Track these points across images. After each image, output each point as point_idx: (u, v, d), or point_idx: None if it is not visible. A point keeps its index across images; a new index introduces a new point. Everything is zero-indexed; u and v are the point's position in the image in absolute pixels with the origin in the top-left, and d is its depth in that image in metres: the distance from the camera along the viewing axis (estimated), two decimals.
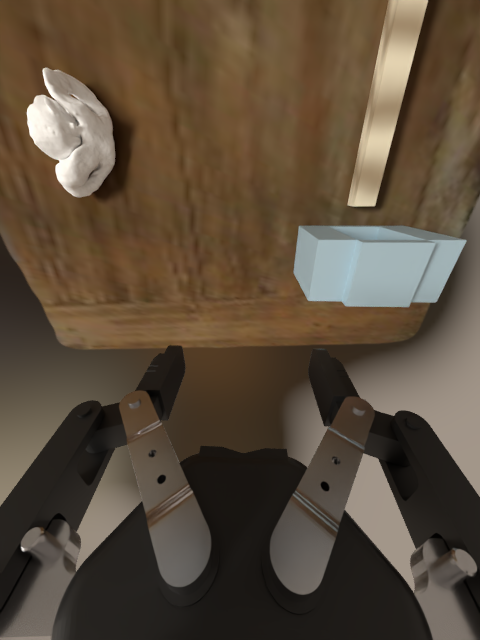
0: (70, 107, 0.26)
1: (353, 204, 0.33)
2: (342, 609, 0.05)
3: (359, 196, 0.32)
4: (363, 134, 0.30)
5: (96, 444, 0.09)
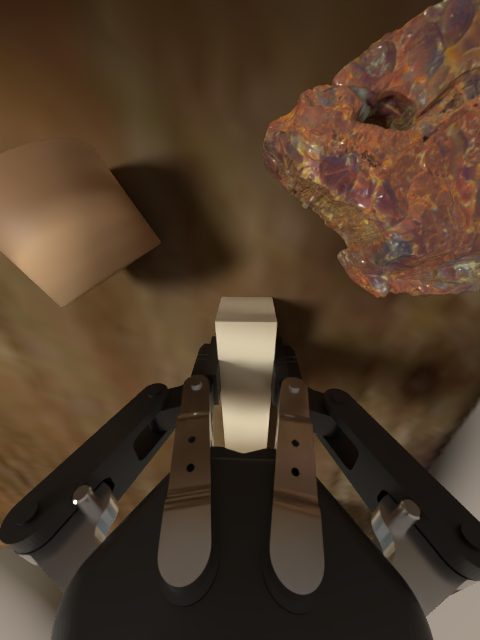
0: None
1: None
2: (342, 609, 0.05)
3: None
4: None
5: (156, 425, 0.10)
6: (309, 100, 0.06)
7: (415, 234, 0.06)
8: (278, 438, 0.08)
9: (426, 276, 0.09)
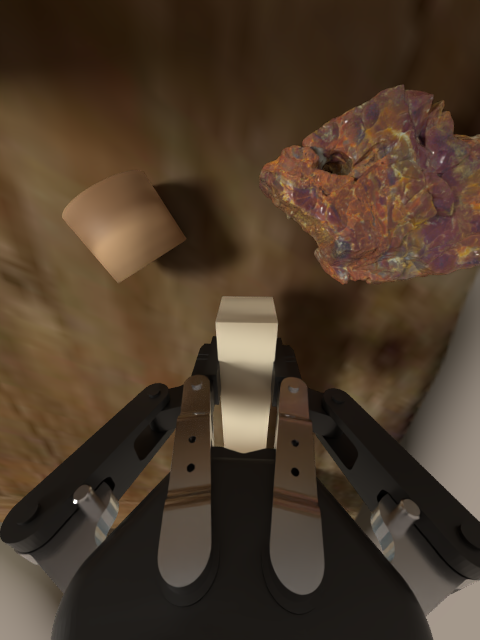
0: None
1: None
2: (342, 609, 0.05)
3: None
4: None
5: (156, 424, 0.10)
6: (287, 154, 0.10)
7: (351, 237, 0.10)
8: (278, 438, 0.08)
9: (371, 267, 0.13)
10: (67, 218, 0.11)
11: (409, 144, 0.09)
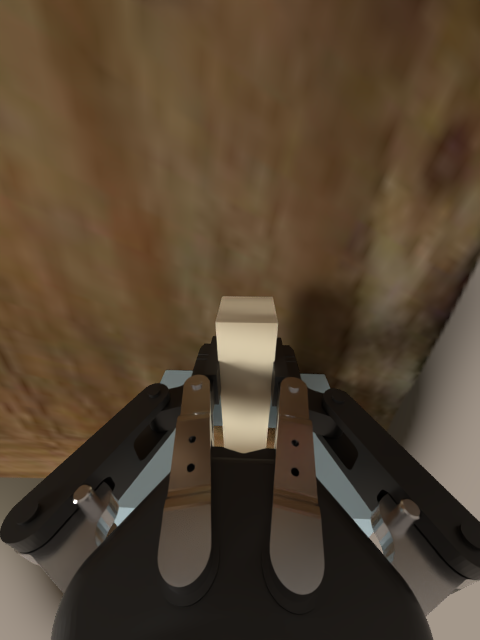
0: None
1: None
2: (342, 609, 0.05)
3: None
4: None
5: (156, 425, 0.10)
6: None
7: None
8: (278, 438, 0.08)
9: None
10: None
11: None
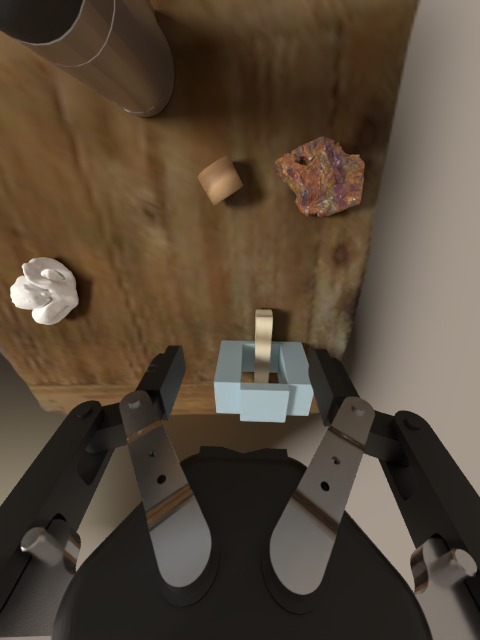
0: (42, 286, 0.37)
1: None
2: (342, 609, 0.05)
3: None
4: (254, 365, 0.48)
5: (96, 444, 0.09)
6: (285, 156, 0.28)
7: (307, 188, 0.29)
8: (319, 448, 0.07)
9: (317, 205, 0.31)
10: (203, 174, 0.29)
11: (326, 156, 0.28)
